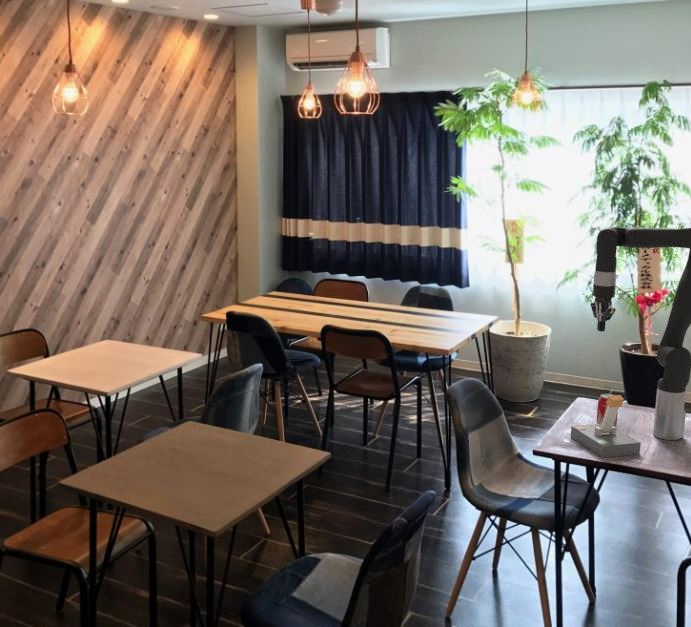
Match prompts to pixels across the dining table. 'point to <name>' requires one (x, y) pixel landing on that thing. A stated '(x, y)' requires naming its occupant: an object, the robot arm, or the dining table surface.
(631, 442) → the switch panel
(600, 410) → the soda can
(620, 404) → the lever
